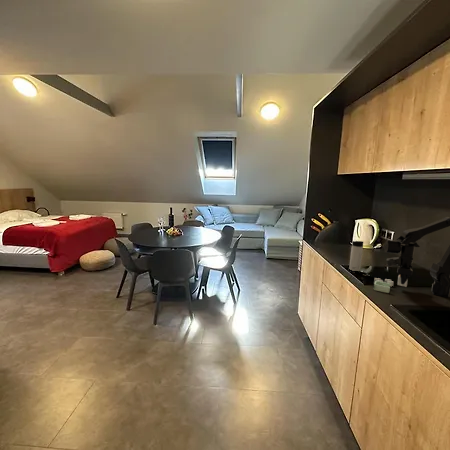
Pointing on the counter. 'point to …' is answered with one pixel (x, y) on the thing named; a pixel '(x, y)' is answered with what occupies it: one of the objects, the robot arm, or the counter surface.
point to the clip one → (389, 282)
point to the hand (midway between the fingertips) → (402, 282)
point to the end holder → (382, 286)
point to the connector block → (400, 281)
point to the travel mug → (356, 255)
